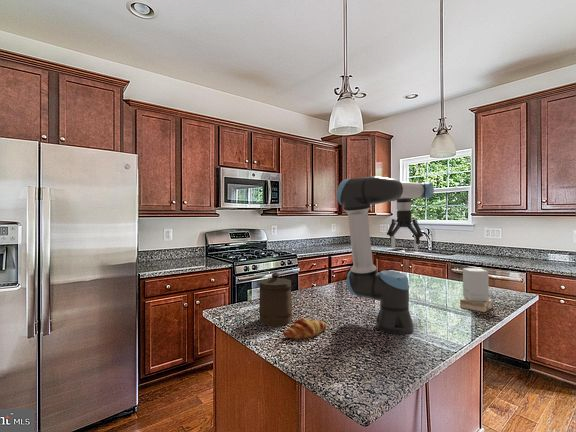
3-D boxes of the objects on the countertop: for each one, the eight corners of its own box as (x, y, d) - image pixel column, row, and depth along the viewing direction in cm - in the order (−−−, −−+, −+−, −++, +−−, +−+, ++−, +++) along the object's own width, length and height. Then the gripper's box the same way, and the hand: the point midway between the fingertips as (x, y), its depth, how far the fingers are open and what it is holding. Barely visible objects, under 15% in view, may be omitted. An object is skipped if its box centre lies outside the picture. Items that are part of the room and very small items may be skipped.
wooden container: (285, 313, 153) (284, 269, 153) (296, 323, 139) (296, 274, 139) (255, 317, 148) (255, 271, 148) (265, 328, 134) (264, 277, 134)
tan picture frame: (484, 312, 152) (484, 303, 151) (460, 307, 160) (460, 298, 160) (492, 307, 159) (492, 299, 158) (468, 302, 167) (468, 294, 167)
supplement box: (489, 301, 154) (489, 271, 154) (469, 301, 156) (469, 271, 155) (481, 296, 163) (481, 268, 163) (462, 296, 164) (462, 267, 164)
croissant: (322, 335, 135) (317, 316, 138) (336, 330, 128) (330, 310, 131) (280, 345, 124) (275, 325, 127) (293, 341, 116) (287, 319, 119)
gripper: (429, 209, 164) (430, 250, 165) (387, 210, 184) (388, 246, 184) (422, 209, 160) (423, 251, 160) (380, 210, 179) (380, 247, 179)
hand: (404, 249), depth 172 cm, fingers open, 13 cm apart
